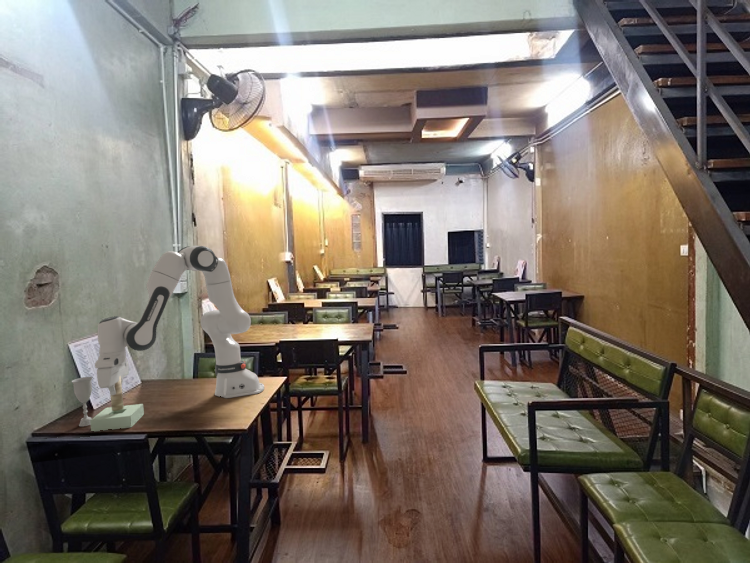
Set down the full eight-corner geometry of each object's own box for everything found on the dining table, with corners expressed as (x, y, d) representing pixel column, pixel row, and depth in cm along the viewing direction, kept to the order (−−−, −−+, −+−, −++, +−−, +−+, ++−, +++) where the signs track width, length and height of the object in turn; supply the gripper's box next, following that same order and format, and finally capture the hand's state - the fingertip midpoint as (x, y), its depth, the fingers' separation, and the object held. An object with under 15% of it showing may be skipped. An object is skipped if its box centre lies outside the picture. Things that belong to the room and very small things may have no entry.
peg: (125, 406, 172) (122, 374, 172) (121, 410, 169) (118, 377, 168) (114, 407, 172) (111, 375, 171) (110, 411, 168) (107, 378, 167)
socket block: (144, 414, 179) (143, 403, 178) (131, 427, 165) (130, 415, 165) (107, 418, 176) (106, 407, 176) (91, 431, 162) (90, 420, 162)
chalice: (82, 421, 174) (78, 377, 173) (100, 419, 175) (96, 376, 174) (71, 428, 167) (67, 382, 166) (90, 426, 168) (85, 381, 167)
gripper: (115, 353, 179) (118, 385, 179) (92, 365, 158) (95, 401, 159) (131, 351, 180) (134, 384, 180) (111, 363, 160) (114, 399, 160)
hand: (116, 392), depth 170 cm, fingers closed on peg, 4 cm apart
